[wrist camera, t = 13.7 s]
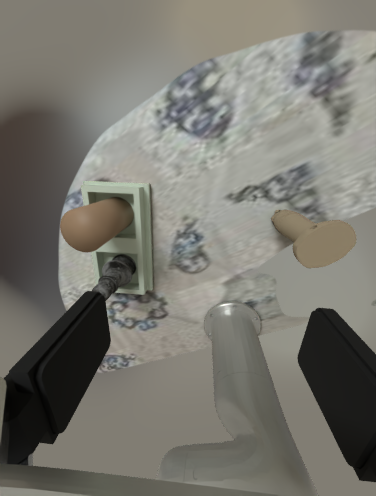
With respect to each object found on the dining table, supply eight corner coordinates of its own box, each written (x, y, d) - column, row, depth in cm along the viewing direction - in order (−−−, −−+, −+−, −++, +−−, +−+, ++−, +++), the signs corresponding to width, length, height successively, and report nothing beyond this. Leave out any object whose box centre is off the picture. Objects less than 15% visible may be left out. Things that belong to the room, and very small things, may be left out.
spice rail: (153, 287, 45) (134, 331, 32) (100, 284, 45) (62, 325, 33) (149, 183, 37) (123, 190, 24) (85, 181, 37) (29, 186, 25)
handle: (257, 216, 37) (289, 244, 23) (290, 196, 36) (346, 213, 22) (269, 237, 38) (307, 275, 25) (302, 218, 37) (362, 248, 23)
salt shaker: (123, 283, 43) (95, 322, 32) (104, 262, 42) (68, 296, 31) (143, 269, 42) (121, 305, 31) (124, 247, 40) (93, 277, 29)
